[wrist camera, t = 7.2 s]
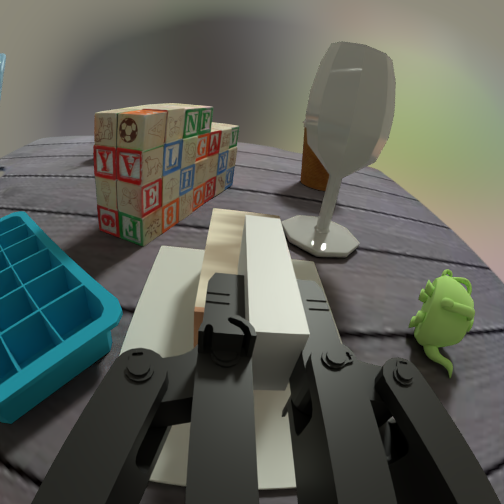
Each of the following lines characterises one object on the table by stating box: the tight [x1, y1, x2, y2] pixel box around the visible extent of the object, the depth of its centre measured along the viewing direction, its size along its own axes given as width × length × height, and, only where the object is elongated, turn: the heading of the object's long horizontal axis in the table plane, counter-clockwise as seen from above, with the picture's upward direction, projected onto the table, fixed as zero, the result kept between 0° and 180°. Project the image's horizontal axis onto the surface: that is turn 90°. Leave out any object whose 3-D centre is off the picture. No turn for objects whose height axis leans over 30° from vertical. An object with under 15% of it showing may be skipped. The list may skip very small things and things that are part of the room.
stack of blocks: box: [93, 103, 239, 246], centre depth 32 cm, size 21×6×12 cm, turn 160°
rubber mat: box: [119, 246, 342, 490], centre depth 18 cm, size 14×20×1 cm
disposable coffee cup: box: [301, 119, 329, 191], centre depth 47 cm, size 10×10×12 cm
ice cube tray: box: [0, 211, 123, 424], centre depth 15 cm, size 12×20×3 cm, turn 58°
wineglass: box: [281, 42, 396, 258], centre depth 26 cm, size 9×9×21 cm
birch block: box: [194, 208, 296, 348], centre depth 18 cm, size 5×5×11 cm
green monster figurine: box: [408, 269, 475, 378], centre depth 18 cm, size 6×5×6 cm
